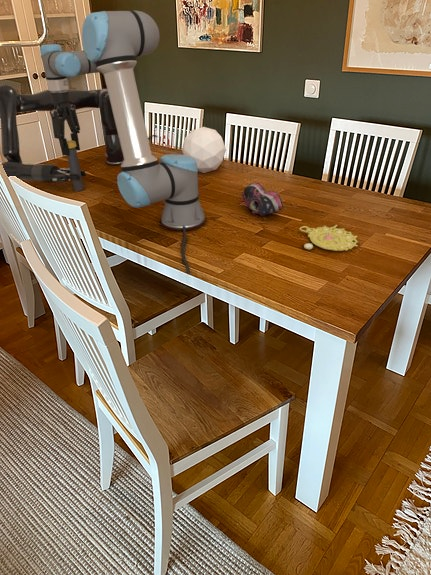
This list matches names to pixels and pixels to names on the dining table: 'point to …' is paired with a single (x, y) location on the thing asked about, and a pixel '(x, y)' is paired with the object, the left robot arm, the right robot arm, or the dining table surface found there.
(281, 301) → the dining table surface
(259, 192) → the athletic shoe
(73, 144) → the lid
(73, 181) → the dark grey cylinder
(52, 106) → the left robot arm
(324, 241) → the decorative object
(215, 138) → the sphere
